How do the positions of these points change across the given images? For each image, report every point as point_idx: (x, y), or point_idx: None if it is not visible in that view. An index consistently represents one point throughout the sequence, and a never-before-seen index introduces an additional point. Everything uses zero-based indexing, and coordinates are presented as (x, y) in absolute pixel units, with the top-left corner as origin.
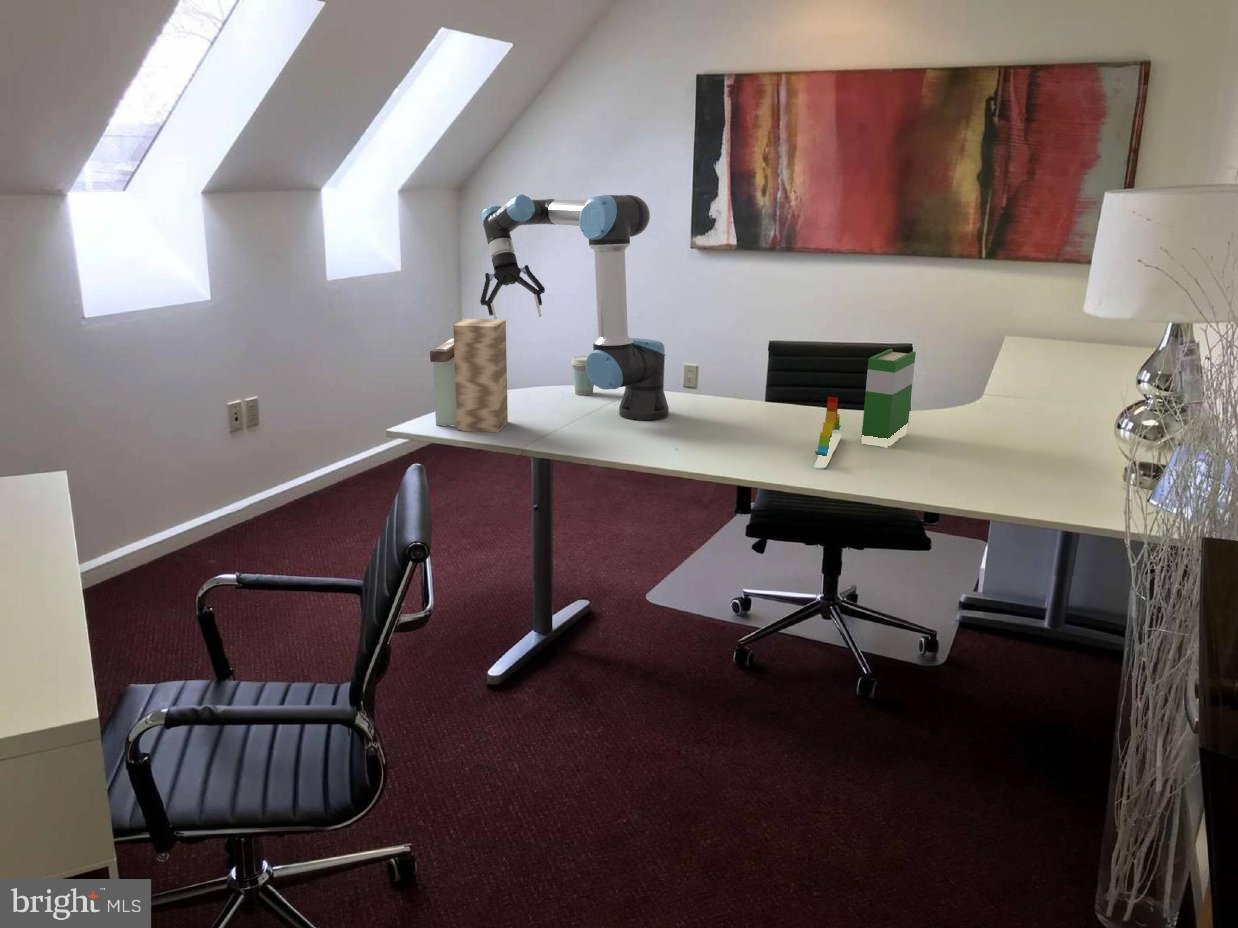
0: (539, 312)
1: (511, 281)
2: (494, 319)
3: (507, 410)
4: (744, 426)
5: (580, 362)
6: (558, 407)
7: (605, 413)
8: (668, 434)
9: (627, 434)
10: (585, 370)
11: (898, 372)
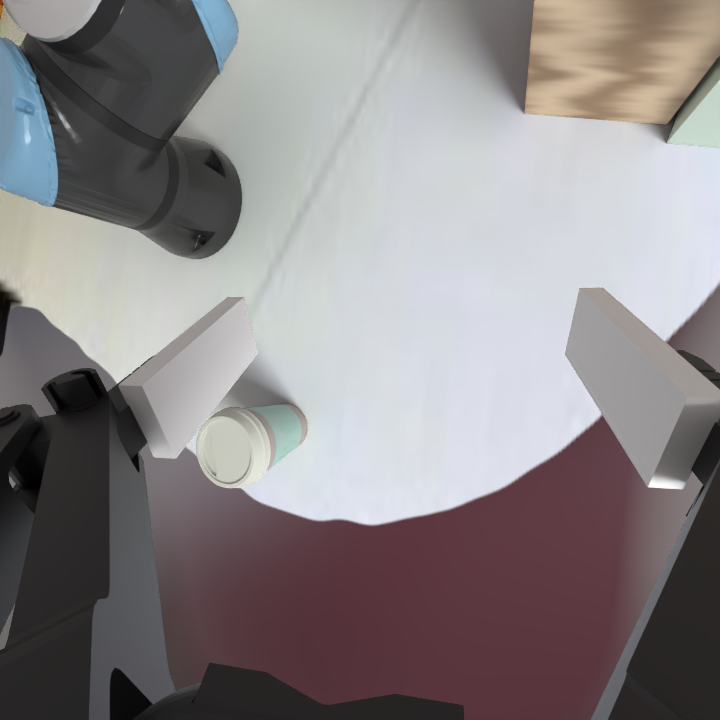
0: (230, 301)
1: (272, 702)
2: (617, 301)
3: (526, 90)
4: None
5: (241, 418)
6: (364, 284)
7: (267, 216)
8: None
9: (249, 20)
10: (245, 408)
11: None
